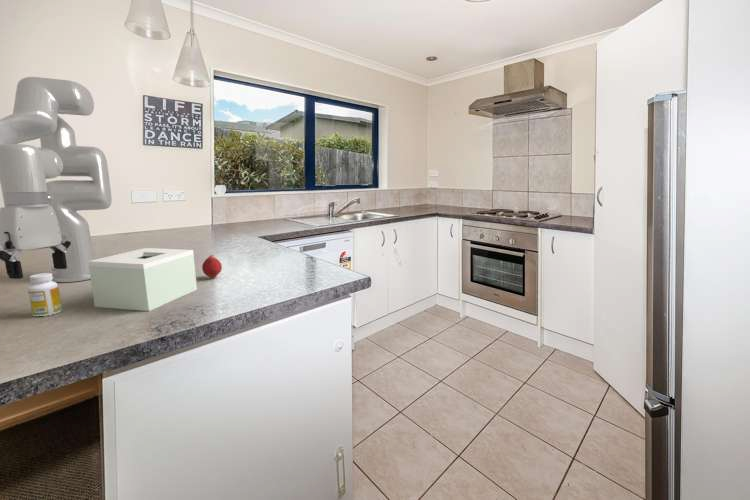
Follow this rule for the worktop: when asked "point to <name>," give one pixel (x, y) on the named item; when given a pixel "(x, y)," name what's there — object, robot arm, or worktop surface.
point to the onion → (211, 267)
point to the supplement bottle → (44, 295)
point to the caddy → (142, 278)
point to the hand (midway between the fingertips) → (39, 273)
